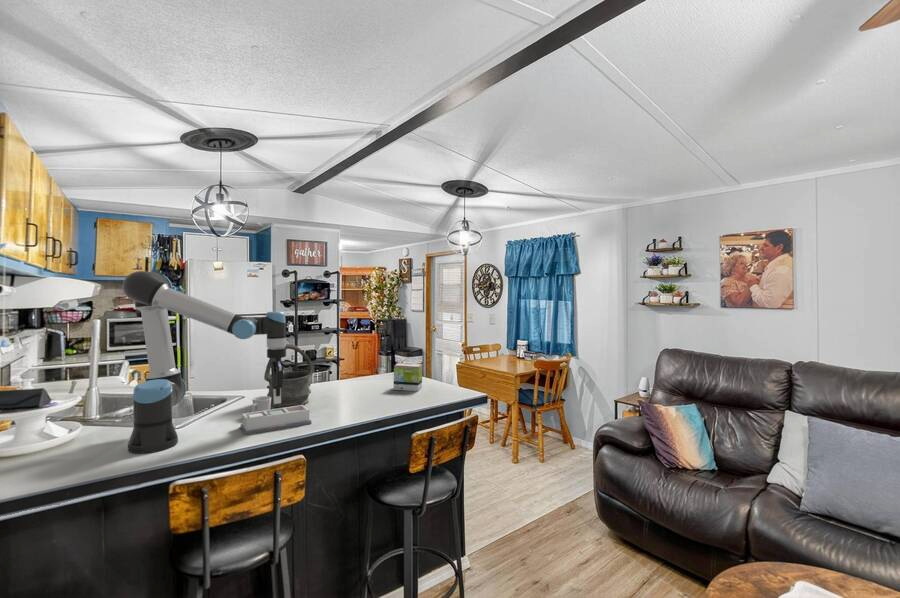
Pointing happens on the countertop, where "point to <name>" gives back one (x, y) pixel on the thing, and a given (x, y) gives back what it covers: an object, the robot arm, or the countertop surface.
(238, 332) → the robot arm
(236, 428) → the countertop surface
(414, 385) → the tea box
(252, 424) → the grey compartment tray
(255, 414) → the key cream
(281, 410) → the key sage
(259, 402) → the cup
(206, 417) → the countertop surface
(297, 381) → the dark handled basket
